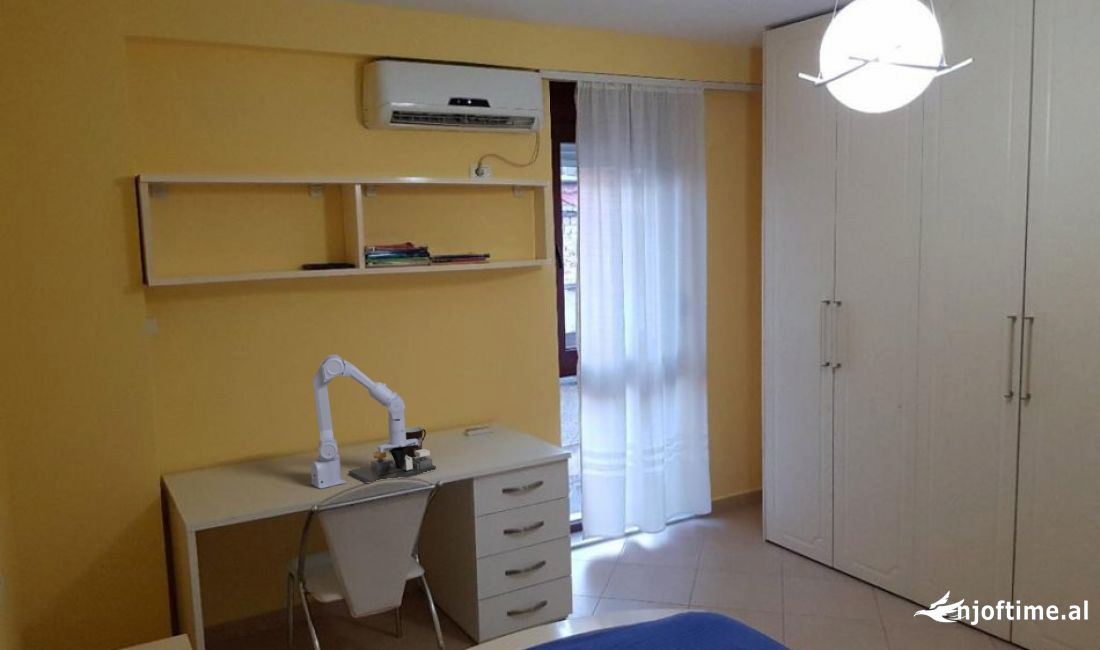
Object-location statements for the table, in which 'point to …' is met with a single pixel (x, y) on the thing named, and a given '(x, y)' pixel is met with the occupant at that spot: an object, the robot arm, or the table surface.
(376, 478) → the panel
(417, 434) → the coffee mug
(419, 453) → the square button
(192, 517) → the table surface
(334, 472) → the robot arm
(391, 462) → the rocker
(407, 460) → the slider knob
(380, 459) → the round button
